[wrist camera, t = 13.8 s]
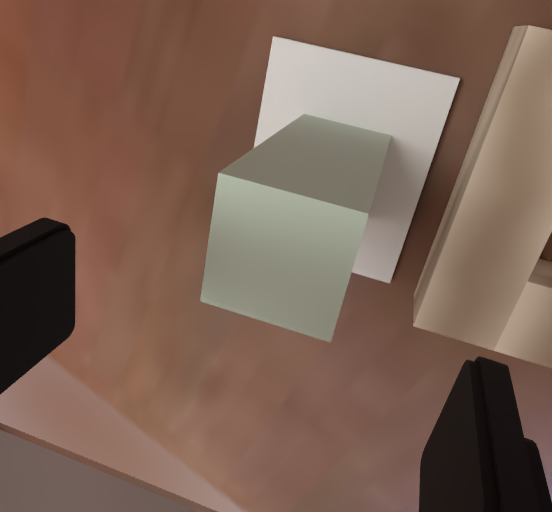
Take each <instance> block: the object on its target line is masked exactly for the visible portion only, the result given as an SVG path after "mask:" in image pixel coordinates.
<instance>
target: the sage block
mask: <svg viewBox="0 0 552 512" xmlns="http://www.w3.org/2000/svg"><path fill="white" fill-rule="evenodd" d="M390 139H391V135H388V134H384V133H380V132H376V131H372V130H368V129H364V128H359V127H355V126H351V125H347V124H343V123H339V122H335V121H331V120H327V119H323V118H319V117H315V116H311V115H307V114H303V115H301V116H300V117H298V118H297V119H296V120H294V121H293V122H291V123H290V124H288V125H287V126H285V127H284V128H282V129H281V130H280V131H278V132H277V133H275V134H274V135H272V136H271V137H269V138H268V139H267V140H265V141H264V142H262V143H261V144H259V145H258V146H256V147H255V148H253V149H252V150H251V151H249V152H248V153H246V154H245V155H243V156H242V157H240V158H239V159H238V160H236V161H235V162H233V163H232V164H230V165H229V166H227V167H226V168H224V169H223V170H222V171H220V172H219V173H218V179H217V186H216V193H215V200H214V207H213V214H212V221H211V228H210V235H209V242H208V249H207V256H206V263H205V270H204V278H203V285H202V292H201V299H200V301H201V302H204V303H207V304H211V305H214V306H217V307H220V308H223V309H226V310H230V311H233V312H236V313H239V314H242V315H245V316H248V317H252V318H255V319H258V320H261V321H264V322H267V323H270V324H274V325H277V326H280V327H283V328H286V329H289V330H292V331H296V332H299V333H302V334H305V335H308V336H311V337H315V338H318V339H321V340H324V341H327V342H330V343H331V340H332V336H333V333H334V330H335V326H336V323H337V320H338V316H339V313H340V309H341V306H342V303H343V299H344V296H345V293H346V289H347V286H348V283H349V279H350V276H351V272H352V269H353V266H354V262H355V259H356V256H357V252H358V249H359V245H360V242H361V239H362V235H363V232H364V229H365V225H366V222H367V219H368V215H369V212H370V208H371V205H372V201H373V198H374V194H375V191H376V187H377V184H378V180H379V177H380V173H381V170H382V166H383V163H384V159H385V156H386V153H387V149H388V146H389V142H390Z"/></svg>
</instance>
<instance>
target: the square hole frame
mask: <svg viewBox="0 0 552 512" xmlns="http://www.w3.org/2000/svg"><path fill="white" fill-rule="evenodd" d="M551 232H552V30H549V29H544V28H539V27H535V26H530V25H526V26H513V29H512V32H511V35H510V37H509V40H508V43H507V45H506V48H505V51H504V53H503V56H502V59H501V61H500V64H499V67H498V69H497V72H496V75H495V78H494V80H493V83H492V86H491V88H490V91H489V94H488V96H487V99H486V102H485V104H484V107H483V110H482V112H481V115H480V118H479V120H478V123H477V126H476V129H475V131H474V134H473V137H472V139H471V142H470V145H469V147H468V150H467V153H466V155H465V158H464V161H463V163H462V166H461V169H460V172H459V174H458V177H457V180H456V182H455V185H454V188H453V190H452V193H451V196H450V198H449V201H448V204H447V206H446V209H445V212H444V215H443V217H442V220H441V223H440V225H439V228H438V231H437V233H436V236H435V239H434V241H433V244H432V247H431V249H430V252H429V255H428V257H427V260H426V263H425V266H424V268H423V271H422V274H421V276H420V279H419V282H418V284H417V287H416V290H415V292H414V311H413V326H414V327H418V328H421V329H424V330H427V331H431V332H434V333H437V334H440V335H444V336H447V337H450V338H454V339H457V340H460V341H463V342H467V343H470V344H473V345H476V346H480V347H483V348H486V349H490V350H493V351H496V352H499V353H503V354H506V355H509V356H512V357H516V358H519V359H522V360H526V361H529V362H532V363H535V364H539V365H542V366H545V367H548V368H552V262H551V261H547V260H543V259H540V258H539V257H540V255H541V253H542V250H543V248H544V246H545V244H546V242H547V240H548V238H549V236H550V234H551Z"/></svg>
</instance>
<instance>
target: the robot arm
mask: <svg viewBox="0 0 552 512" xmlns="http://www.w3.org/2000/svg"><path fill="white" fill-rule="evenodd" d="M74 326H75V235H74V234H73V233H72V232H71V230H70V227H69V226H68V225H67V224H64V223H61V222H58V221H55V220H52V219H48V218H41V219H39V220H36V221H34V222H32V223H30V224H28V225H26V226H24V227H22V228H20V229H17V230H15V231H13V232H11V233H9V234H7V235H5V236H3V237H1V238H0V394H1V393H2V392H4V391H5V390H6V389H7V388H8V387H10V386H11V385H12V384H13V383H15V382H16V381H17V380H18V379H19V378H20V377H22V376H23V375H24V374H25V373H26V372H28V371H29V370H30V369H31V368H32V367H34V366H35V365H36V364H37V363H38V362H40V361H41V360H42V359H43V358H44V357H46V356H47V355H48V354H49V353H50V352H52V351H53V350H54V349H55V348H56V347H58V346H59V345H60V344H61V343H62V342H64V341H65V340H66V339H67V338H68V337H69V336H70V335H71V333H72V331H73V329H74ZM0 512H217V511H215V510H212V509H210V508H207V507H205V506H202V505H200V504H198V503H195V502H193V501H190V500H188V499H186V498H183V497H181V496H178V495H176V494H174V493H171V492H169V491H166V490H164V489H161V488H159V487H156V486H154V485H152V484H149V483H147V482H144V481H142V480H139V479H137V478H135V477H132V476H130V475H127V474H124V473H122V472H120V471H117V470H115V469H113V468H110V467H107V466H105V465H103V464H100V463H98V462H95V461H93V460H90V459H88V458H85V457H83V456H81V455H78V454H76V453H73V452H71V451H68V450H66V449H63V448H61V447H59V446H56V445H53V444H51V443H49V442H46V441H44V440H41V439H38V438H36V437H34V436H31V435H29V434H26V433H24V432H21V431H19V430H17V429H14V428H12V427H9V426H7V425H4V424H1V423H0ZM419 512H552V502H551V498H550V494H549V490H548V486H547V482H546V478H545V474H544V470H543V466H542V462H541V458H540V454H539V450H538V447H537V445H536V443H535V442H534V441H532V440H530V439H527V438H524V435H523V431H522V426H521V422H520V417H519V413H518V408H517V404H516V399H515V395H514V390H513V386H512V381H511V377H510V372H509V368H508V366H507V365H505V364H502V363H499V362H496V361H492V360H489V359H486V358H483V357H480V356H479V357H477V358H476V360H475V361H474V362H473V361H470V360H466V361H465V362H464V364H463V366H462V368H461V371H460V373H459V375H458V377H457V379H456V381H455V384H454V386H453V388H452V390H451V392H450V394H449V396H448V399H447V401H446V403H445V405H444V407H443V409H442V412H441V414H440V416H439V418H438V420H437V422H436V425H435V427H434V429H433V431H432V433H431V435H430V437H429V440H428V442H427V444H426V446H425V448H424V451H423V454H422V458H421V465H420V496H419Z"/></svg>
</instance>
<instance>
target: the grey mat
mask: <svg viewBox="0 0 552 512" xmlns="http://www.w3.org/2000/svg"><path fill="white" fill-rule="evenodd" d="M459 80H460V78H459V77H454V76H450V75H446V74H441V73H437V72H432V71H428V70H423V69H419V68H415V67H410V66H406V65H401V64H397V63H392V62H388V61H384V60H379V59H375V58H370V57H366V56H361V55H357V54H353V53H348V52H344V51H339V50H335V49H330V48H326V47H322V46H317V45H313V44H308V43H304V42H299V41H295V40H291V39H286V38H282V37H277V36H273V40H272V46H271V52H270V57H269V63H268V69H267V75H266V81H265V86H264V92H263V98H262V104H261V110H260V115H259V121H258V127H257V133H256V138H255V144H254V148H255V147H256V146H258V145H259V144H261V143H262V142H264V141H265V140H267V139H268V138H269V137H271V136H272V135H274V134H275V133H277V132H278V131H280V130H281V129H282V128H284V127H285V126H287V125H288V124H290V123H291V122H293V121H294V120H296V119H297V118H298V117H300V116H301V115H303V114H307V115H311V116H315V117H319V118H323V119H327V120H331V121H335V122H339V123H343V124H347V125H351V126H355V127H359V128H364V129H368V130H372V131H376V132H380V133H384V134H388V135H391V139H390V142H389V146H388V149H387V153H386V156H385V159H384V163H383V166H382V170H381V173H380V177H379V180H378V184H377V187H376V191H375V194H374V198H373V201H372V205H371V208H370V212H369V215H368V219H367V222H366V225H365V229H364V232H363V235H362V239H361V242H360V245H359V249H358V252H357V256H356V259H355V262H354V266H353V269H352V272H353V273H356V274H359V275H363V276H366V277H370V278H373V279H376V280H380V281H383V282H387V283H390V282H391V279H392V276H393V273H394V270H395V267H396V264H397V261H398V258H399V255H400V253H401V250H402V247H403V244H404V241H405V238H406V235H407V232H408V229H409V226H410V223H411V220H412V217H413V215H414V212H415V209H416V206H417V203H418V200H419V197H420V194H421V191H422V188H423V185H424V182H425V180H426V177H427V174H428V171H429V168H430V165H431V162H432V159H433V156H434V153H435V150H436V147H437V144H438V142H439V139H440V136H441V133H442V130H443V127H444V124H445V121H446V118H447V115H448V112H449V109H450V107H451V104H452V101H453V98H454V95H455V92H456V89H457V86H458V83H459Z"/></svg>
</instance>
